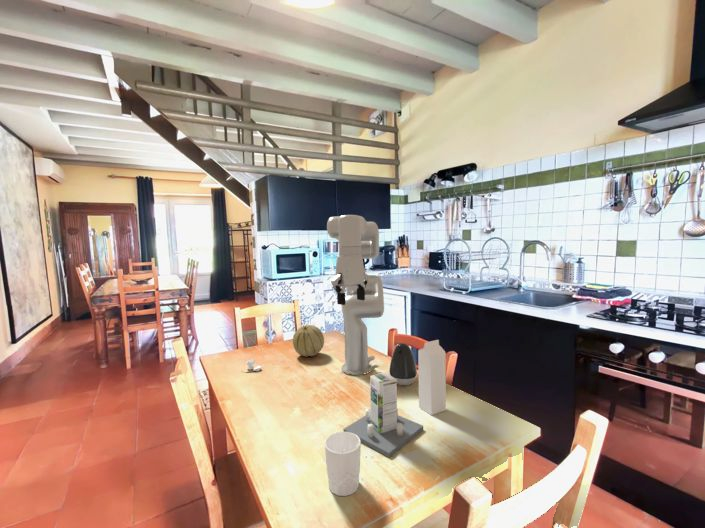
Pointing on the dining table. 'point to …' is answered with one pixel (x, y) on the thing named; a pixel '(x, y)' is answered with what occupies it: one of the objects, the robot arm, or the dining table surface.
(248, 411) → the dining table surface
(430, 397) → the milk
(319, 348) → the cantaloupe
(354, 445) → the white cup
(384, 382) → the syrup box
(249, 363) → the pacifier
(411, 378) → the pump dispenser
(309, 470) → the dining table surface
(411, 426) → the standoff base
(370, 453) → the dining table surface
